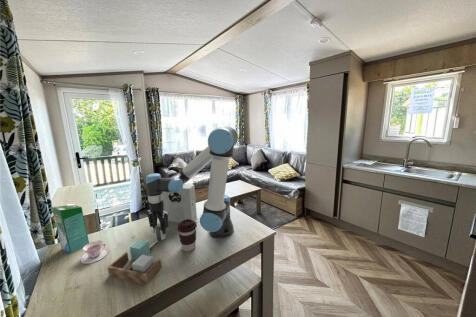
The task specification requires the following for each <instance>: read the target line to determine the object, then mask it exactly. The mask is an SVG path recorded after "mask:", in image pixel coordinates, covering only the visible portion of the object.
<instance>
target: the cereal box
mask: <svg viewBox="0 0 476 317" xmlns="http://www.w3.org/2000/svg"><path fill="white" fill-rule="evenodd" d="M195 188H196V187H195V184H186V183H185V184H183V188H182V190H181V191H180V192H175V193H172V192H162V194H163V203H164V207H163V208H164V211H165V212H169V214H168V222H172V223H173V222H174V223H181V221H183V220H186V219H191V220H193V221H195V222H196V220H197V219H198V217H197V215H198V214H197V201H196V189H195ZM163 215H164V214H163ZM163 218H164V216H163Z"/></svg>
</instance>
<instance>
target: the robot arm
mask: <svg viewBox="0 0 476 317" xmlns="http://www.w3.org/2000/svg"><path fill="white" fill-rule="evenodd" d="M238 140H239V135H238V133H237V130H235V128H233V127H231V126H222V127H221V126H219V127H217V128H215V129H213V130H211V132H210V133H209V134H208V137H207V146H206V148H204V149H203V150H202V151H201V152H200V153H199V154H198V155H197V156H195V157H194V158H193V159H192V160H191V161H189V163H187V165H185V166H184V167H183V168H182V169H181V170H179V171H178V172H177V173H175V174H174V175H172V176H170V177H162V176H161V174H160V173H157V172H156V173H155V172H154V173H150V174H147V175H146V176H145V184H146V190H147V191H146V192H147V199H148V201H147V202H148V207H149V208H148V209H149V210H147V211H146V215H147V217H148V218H147V220H148V223H149V227H150V228H152V229H153V233H154V237H155V238H154V239H156V231H155V226H156V225H158V223H159V224H160V226H161V230H160V233H161V240H162V241H163V240H164V239H165V238H166V232H167V231H166V229H167V228H168V227H169V221H168V214H169V212H165V211H164V208H163V207H164V203H163V194H162V192H172V193H175V192H180V191H181V190H182V188H183V184H186V183H188V182H189V181H190V180H191V179H192V178H193V177H194V176H196V174H197V173H199V172H200V171H201V170H203V169H204V168H205V167H206V166H207V165H208V164H209V163H210V162H211V165H210V173H209V181H208V182H209V183H208V190H207V200H205V201H204V203H203V211H202V214H200V216H199V217H200V218H199V225H200V226H201V228H203V230H205V231H206V232H208V233H209V234H210V236H212V237H214V238H219V239H220V238H227V237H230V235H232V234H233V232H234V224H233V222H232V219H231V198H230V196H229V195H227V194H226V188H227V187H226V184H227V180H228V179H227V178H228V171H229V162H230V159H231V158H233V156H234V149H235V146H236V145H237V143H238ZM163 214H164V215H163ZM163 216H164V218H163Z"/></svg>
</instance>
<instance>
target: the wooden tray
mask: <svg viewBox="0 0 476 317" xmlns="http://www.w3.org/2000/svg"><path fill="white" fill-rule="evenodd" d="M161 260H162V259H161V258H158V259H157V260H155V262H154V264H153V265H152V266H151V267H150V268H149V269H148V271H147V272H146V273H140V272H136V271H133V268H132V264H130V265H129V267H127V268H122V267H123V266H124V265H126V263H128V261H130V260H129V254H128V252H127V251H126V252H124V253H123V254H122V255H121V256H120V257H118V258H116V260H115V261H113V262H112V263H111V264H109V265H108V266H107V272H108V276H109V277H113V278H116V279H120V280H121V279H122V280H125V281H130V282H134V283H138V284H140V285H141V284H142V285H148V284H149V283H150V282H151V281H152V279H153V278H154V277H155V275H156V274H157V273H158V272H159V271H160V270H161V268H162V262H161Z"/></svg>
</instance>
